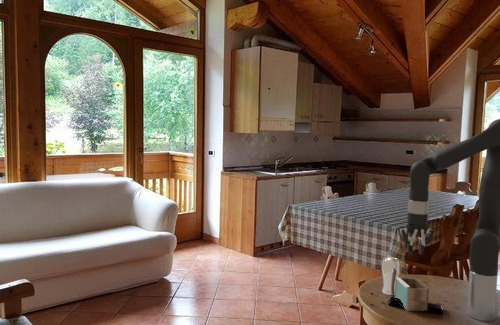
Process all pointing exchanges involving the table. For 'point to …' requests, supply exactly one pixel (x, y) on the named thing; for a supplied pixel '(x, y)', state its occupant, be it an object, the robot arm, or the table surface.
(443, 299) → the table surface
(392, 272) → the beer glass
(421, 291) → the crate
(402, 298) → the teal panel
